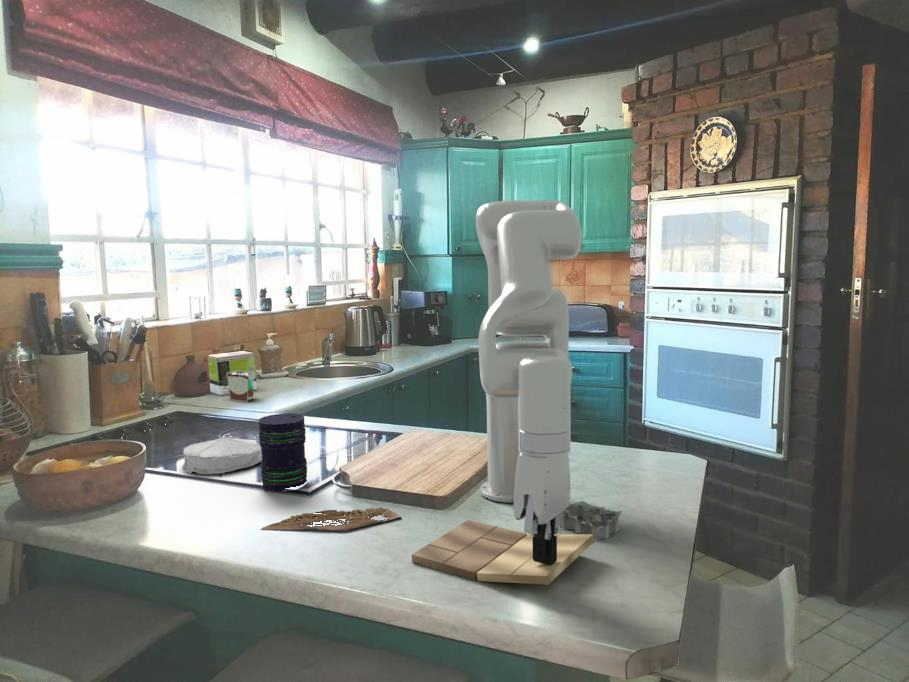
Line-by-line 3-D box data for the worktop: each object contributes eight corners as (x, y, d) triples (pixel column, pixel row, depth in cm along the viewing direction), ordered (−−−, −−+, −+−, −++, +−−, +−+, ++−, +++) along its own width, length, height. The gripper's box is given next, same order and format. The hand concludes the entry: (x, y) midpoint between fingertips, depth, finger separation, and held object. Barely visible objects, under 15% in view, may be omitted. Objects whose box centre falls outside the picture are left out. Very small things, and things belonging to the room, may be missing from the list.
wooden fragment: (400, 508, 132) (400, 503, 132) (402, 530, 121) (402, 525, 121) (267, 517, 129) (267, 511, 129) (257, 540, 118) (257, 534, 118)
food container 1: (171, 463, 166) (168, 436, 165) (249, 447, 178) (247, 422, 177) (194, 484, 150) (191, 455, 149) (278, 465, 162) (276, 438, 161)
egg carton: (551, 527, 122) (551, 505, 121) (575, 515, 127) (575, 495, 126) (601, 543, 114) (601, 520, 114) (624, 530, 119) (624, 508, 119)
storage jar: (273, 496, 140) (269, 426, 138) (254, 484, 147) (250, 418, 145) (315, 485, 146) (313, 418, 144) (295, 474, 154) (292, 411, 152)
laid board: (468, 526, 122) (468, 519, 122) (526, 540, 115) (526, 533, 115) (411, 561, 108) (411, 554, 108) (474, 580, 101) (474, 572, 101)
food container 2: (264, 399, 241) (262, 371, 240) (250, 402, 236) (249, 374, 234) (240, 396, 247) (239, 369, 246) (227, 399, 242) (225, 372, 241)
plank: (529, 540, 115) (528, 533, 115) (594, 541, 108) (592, 534, 108) (477, 580, 101) (476, 572, 101) (548, 584, 94) (546, 575, 94)
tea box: (247, 386, 266) (244, 350, 264) (257, 390, 258) (255, 352, 257) (209, 392, 257) (207, 354, 255) (219, 395, 249) (216, 356, 247)
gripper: (543, 427, 105) (544, 538, 107) (496, 449, 93) (497, 574, 95) (588, 432, 101) (588, 548, 103) (544, 457, 89) (545, 588, 91)
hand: (544, 561), depth 99 cm, fingers closed
